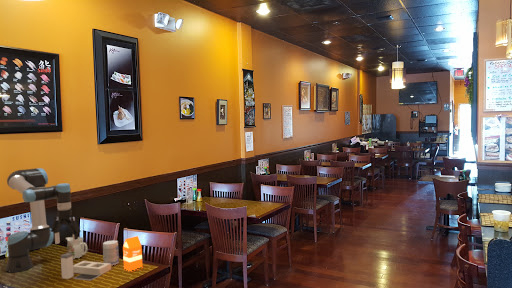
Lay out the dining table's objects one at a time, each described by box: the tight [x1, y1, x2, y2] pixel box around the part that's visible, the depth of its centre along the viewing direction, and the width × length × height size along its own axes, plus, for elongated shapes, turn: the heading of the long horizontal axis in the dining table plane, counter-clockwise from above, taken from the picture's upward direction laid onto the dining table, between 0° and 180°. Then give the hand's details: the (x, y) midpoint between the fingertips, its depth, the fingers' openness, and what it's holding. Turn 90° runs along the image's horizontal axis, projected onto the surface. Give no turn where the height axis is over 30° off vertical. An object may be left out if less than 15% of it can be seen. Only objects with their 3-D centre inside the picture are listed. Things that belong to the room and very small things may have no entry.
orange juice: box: [122, 235, 143, 272], centre depth 245 cm, size 8×9×20 cm
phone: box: [73, 273, 101, 281], centre depth 233 cm, size 7×13×1 cm, turn 72°
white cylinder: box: [60, 252, 75, 280], centre depth 234 cm, size 5×5×14 cm
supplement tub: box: [102, 240, 120, 267], centre depth 255 cm, size 10×10×15 cm
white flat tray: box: [73, 260, 112, 276], centre depth 243 cm, size 22×10×4 cm, turn 72°
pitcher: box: [65, 236, 88, 260], centre depth 272 cm, size 11×18×14 cm, turn 72°
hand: (66, 244), depth 234 cm, fingers open, 13 cm apart
